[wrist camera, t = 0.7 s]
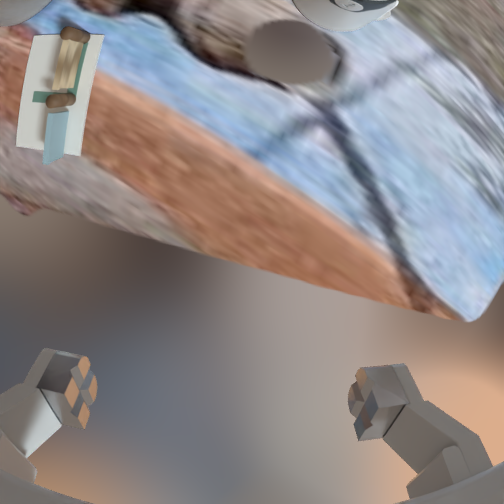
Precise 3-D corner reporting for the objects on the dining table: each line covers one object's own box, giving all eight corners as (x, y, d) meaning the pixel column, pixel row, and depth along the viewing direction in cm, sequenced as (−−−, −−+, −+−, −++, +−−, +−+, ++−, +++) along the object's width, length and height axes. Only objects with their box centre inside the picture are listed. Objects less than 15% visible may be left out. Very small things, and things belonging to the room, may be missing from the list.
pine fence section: (81, 32, 37) (62, 26, 31) (92, 32, 37) (74, 26, 31) (65, 105, 43) (44, 107, 37) (75, 106, 43) (55, 108, 37)
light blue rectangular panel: (64, 110, 42) (48, 113, 38) (70, 110, 43) (53, 113, 38) (58, 156, 46) (42, 163, 41) (63, 157, 46) (47, 164, 41)
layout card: (35, 35, 36) (33, 35, 35) (104, 35, 38) (103, 34, 38) (17, 145, 45) (15, 146, 44) (80, 155, 47) (79, 156, 47)
